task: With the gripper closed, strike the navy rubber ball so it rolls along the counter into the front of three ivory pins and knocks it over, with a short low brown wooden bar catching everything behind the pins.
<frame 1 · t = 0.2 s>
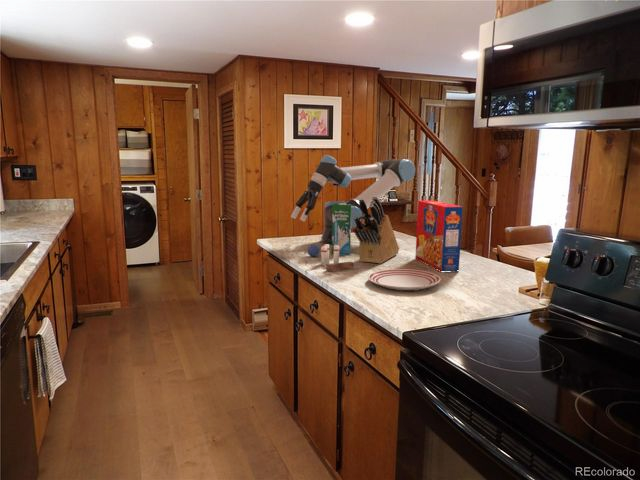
hand: (297, 219, 241), 16 cm above the counter, tool tilted 30°, fingers open, 13 cm apart
brown wooden bar: (339, 270, 201), on the counter
knife block: (376, 260, 222), on the counter
ball: (313, 250, 227), on the counter
milk carton: (341, 253, 238), on the counter
dinner plate: (403, 285, 180), on the counter
front pin: (326, 263, 214), on the counter
pasta box: (435, 265, 213), on the counter
pin 2: (336, 264, 211), on the counter
pin 1: (324, 265, 209), on the counter
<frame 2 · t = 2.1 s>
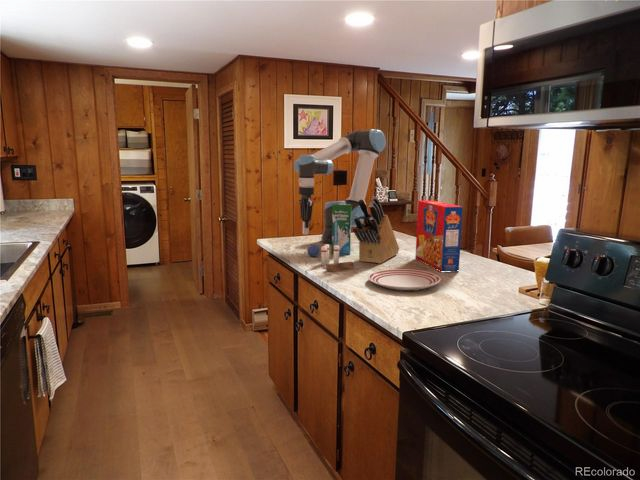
hand: (305, 234, 234), 10 cm above the counter, tool pointing down, fingers closed
nothing on the counter moved.
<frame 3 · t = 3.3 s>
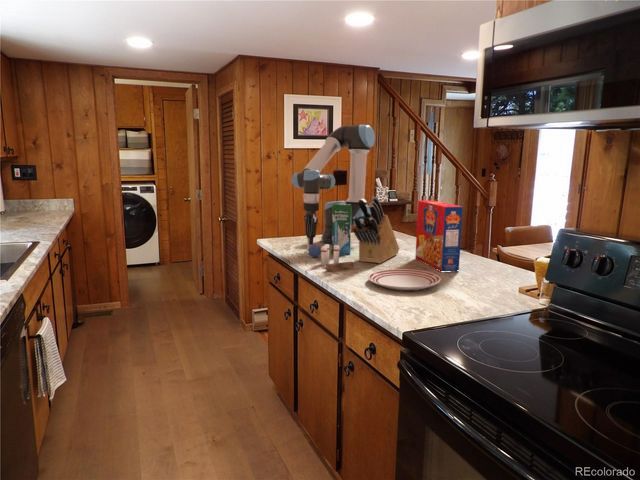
hand: (310, 250, 228), 3 cm above the counter, tool pointing down, fingers closed
ball: (314, 251, 225), on the counter
everything else where it was.
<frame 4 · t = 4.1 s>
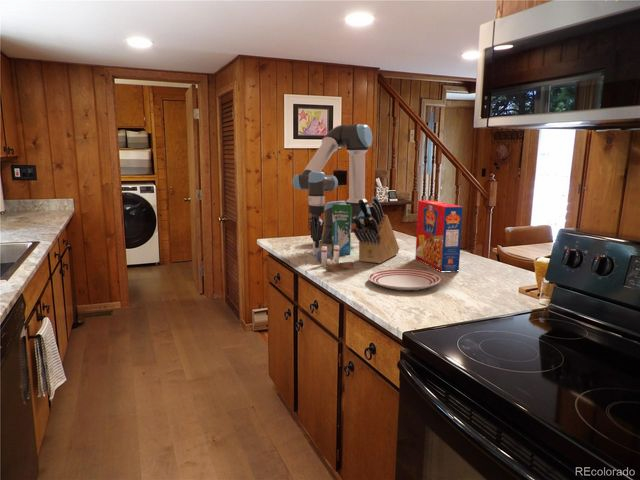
hand: (316, 254, 224), 2 cm above the counter, tool pointing down, fingers closed
ball: (323, 255, 216), on the counter
front pin: (327, 261, 212), point 1 cm above the counter, tilted 91°
everything else where it was.
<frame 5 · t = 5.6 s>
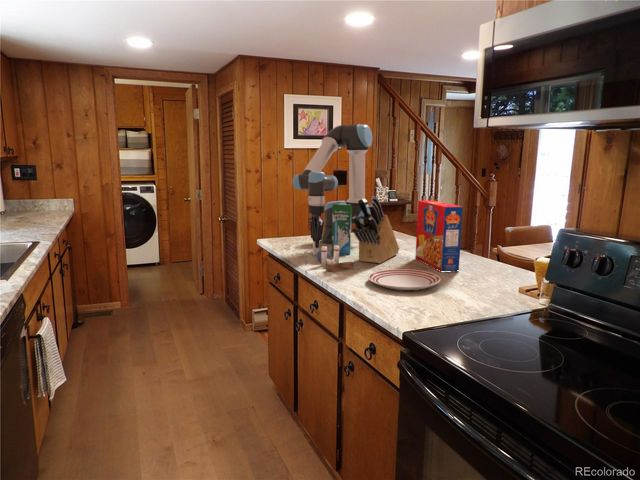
hand: (316, 254, 224), 2 cm above the counter, tool pointing down, fingers closed
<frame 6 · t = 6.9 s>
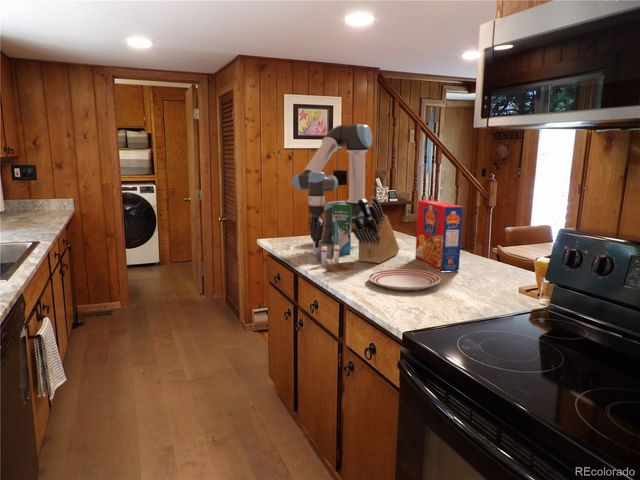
hand: (316, 254, 224), 2 cm above the counter, tool pointing down, fingers closed
nothing on the counter moved.
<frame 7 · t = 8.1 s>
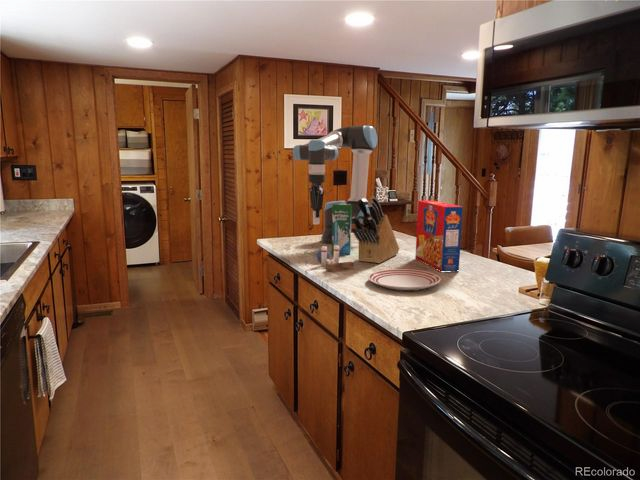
hand: (316, 224, 222), 16 cm above the counter, tool pointing down, fingers closed
nothing on the counter moved.
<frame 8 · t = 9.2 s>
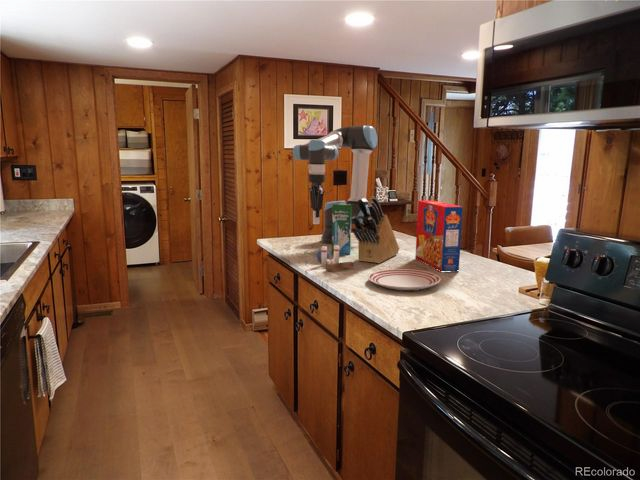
hand: (316, 224, 222), 16 cm above the counter, tool pointing down, fingers closed
nothing on the counter moved.
at the end: front pin tilted 90°; front pin never touched the robot; ball moved 11.9 cm from its start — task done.
